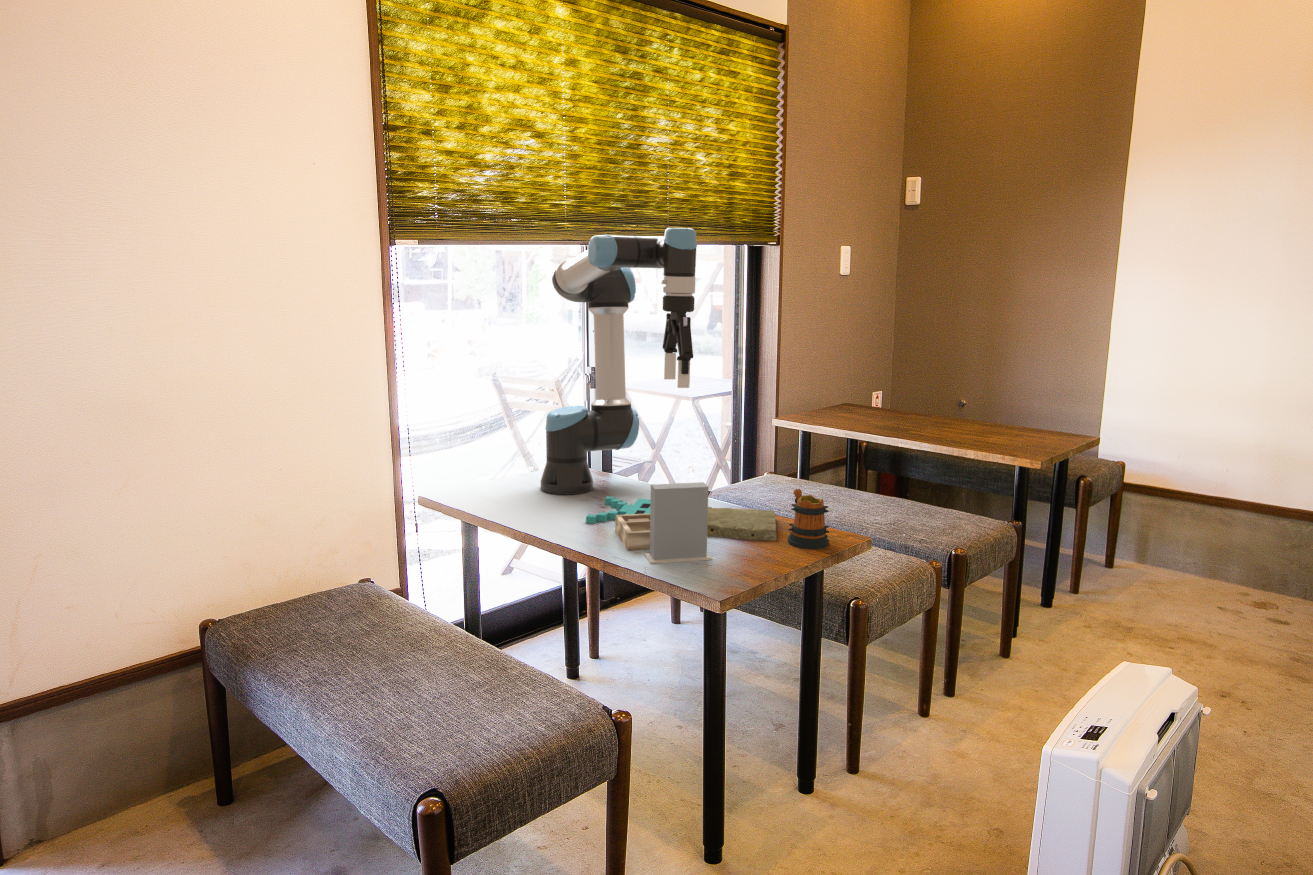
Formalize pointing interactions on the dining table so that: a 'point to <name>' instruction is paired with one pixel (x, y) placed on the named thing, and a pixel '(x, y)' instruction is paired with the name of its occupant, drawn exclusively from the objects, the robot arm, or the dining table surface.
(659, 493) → the slate board
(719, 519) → the decorative tile
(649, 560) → the felt mat
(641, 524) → the rack
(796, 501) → the mug
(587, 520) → the alien figure
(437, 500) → the dining table surface
